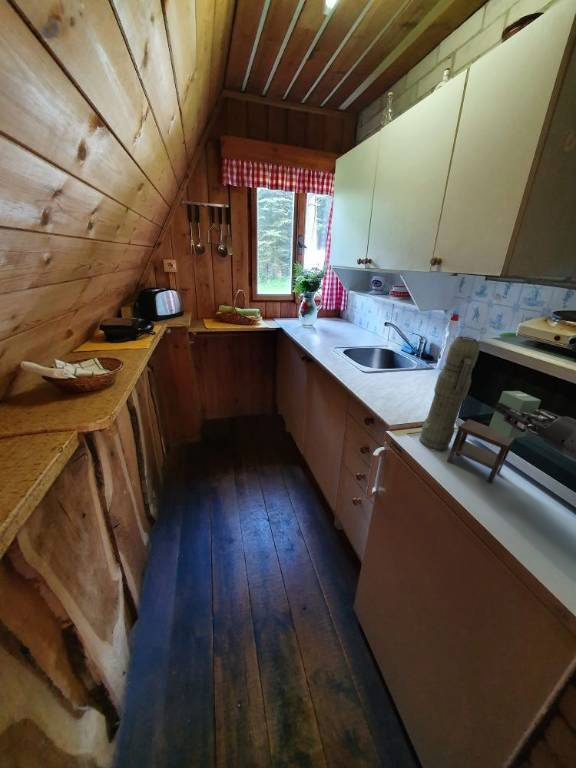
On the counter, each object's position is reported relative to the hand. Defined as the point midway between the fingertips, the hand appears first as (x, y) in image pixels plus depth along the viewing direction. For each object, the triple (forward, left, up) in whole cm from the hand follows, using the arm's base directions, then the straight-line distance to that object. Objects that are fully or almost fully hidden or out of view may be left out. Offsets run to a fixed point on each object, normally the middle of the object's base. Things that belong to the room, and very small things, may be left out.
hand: (506, 406), depth 77 cm
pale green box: (-2, +1, -6) cm, 7 cm away
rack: (+2, -4, -22) cm, 22 cm away
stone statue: (+15, -7, -22) cm, 28 cm away
